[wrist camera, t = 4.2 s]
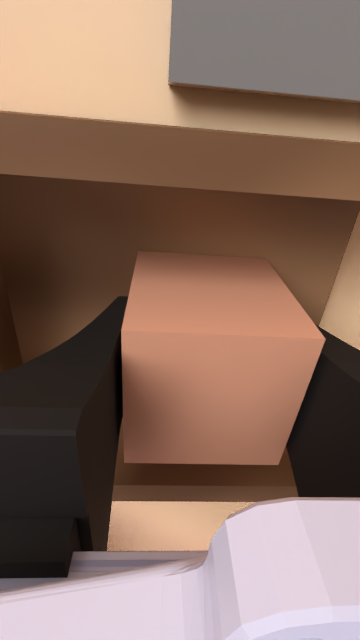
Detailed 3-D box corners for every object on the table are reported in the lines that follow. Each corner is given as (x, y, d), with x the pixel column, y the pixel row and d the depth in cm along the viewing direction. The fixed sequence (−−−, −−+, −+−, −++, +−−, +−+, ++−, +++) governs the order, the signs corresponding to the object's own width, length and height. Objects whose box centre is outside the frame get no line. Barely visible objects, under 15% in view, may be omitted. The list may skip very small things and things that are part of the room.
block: (243, 358, 14) (278, 464, 10) (137, 355, 13) (123, 463, 9) (265, 258, 11) (325, 338, 7) (138, 250, 11) (121, 330, 7)
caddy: (281, 411, 16) (317, 501, 13) (17, 404, 16) (-33, 500, 12) (371, 143, 10) (499, 156, 6) (-60, 105, 9) (-224, 92, 5)
